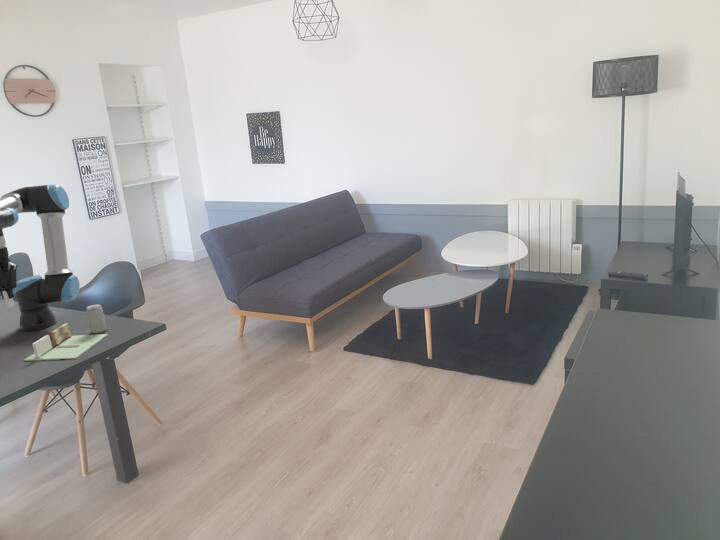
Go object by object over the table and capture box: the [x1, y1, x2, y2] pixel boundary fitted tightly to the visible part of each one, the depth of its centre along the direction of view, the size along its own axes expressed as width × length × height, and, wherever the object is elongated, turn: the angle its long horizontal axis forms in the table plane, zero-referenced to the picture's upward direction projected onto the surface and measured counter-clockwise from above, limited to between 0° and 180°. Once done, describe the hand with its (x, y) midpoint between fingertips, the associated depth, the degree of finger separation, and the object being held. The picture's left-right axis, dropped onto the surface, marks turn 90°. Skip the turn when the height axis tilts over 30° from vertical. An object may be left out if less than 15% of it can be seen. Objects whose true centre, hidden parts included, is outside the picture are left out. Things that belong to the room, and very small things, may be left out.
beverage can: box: [85, 303, 107, 335], centre depth 245 cm, size 6×6×12 cm
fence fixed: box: [47, 322, 73, 348], centre depth 235 cm, size 12×2×8 cm, turn 175°
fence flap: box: [32, 334, 52, 358], centre depth 225 cm, size 9×2×6 cm, turn 175°
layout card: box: [23, 333, 109, 362], centre depth 231 cm, size 24×22×1 cm
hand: (10, 306), depth 219 cm, fingers closed
